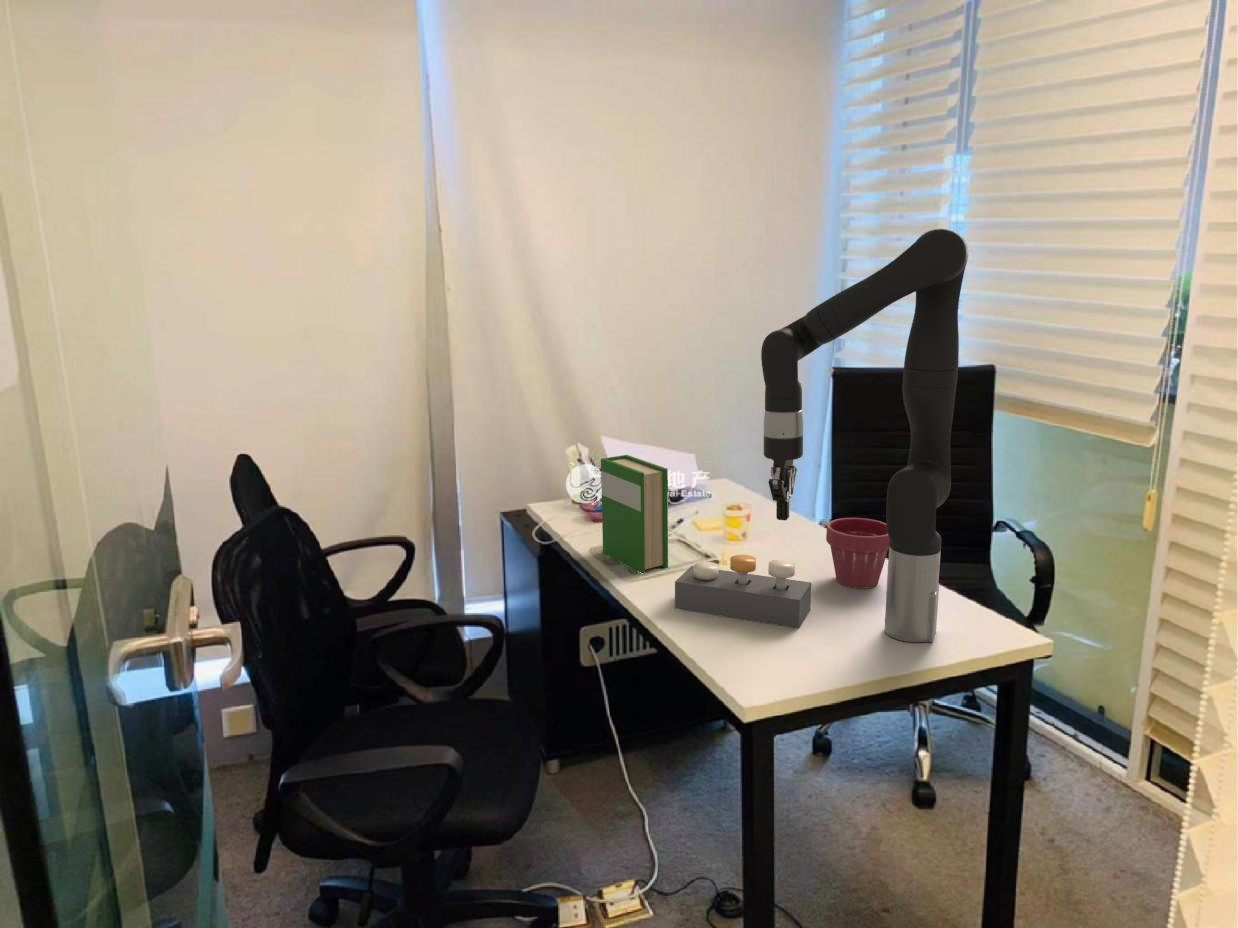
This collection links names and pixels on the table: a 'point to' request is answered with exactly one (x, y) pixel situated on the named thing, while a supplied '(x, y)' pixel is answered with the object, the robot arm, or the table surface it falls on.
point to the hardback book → (635, 512)
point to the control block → (745, 598)
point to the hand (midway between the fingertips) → (782, 518)
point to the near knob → (781, 572)
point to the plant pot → (858, 550)
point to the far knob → (705, 570)
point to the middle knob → (743, 567)
